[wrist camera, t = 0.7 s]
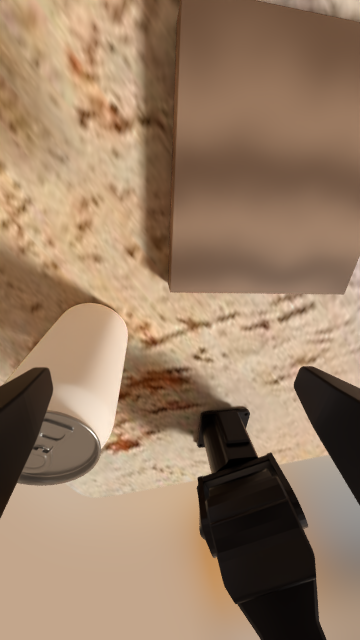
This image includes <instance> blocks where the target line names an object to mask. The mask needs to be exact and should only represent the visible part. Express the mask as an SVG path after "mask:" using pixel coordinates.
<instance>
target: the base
mask: <svg viewBox="0 0 360 640" xmlns="http://www.w3.org/2000/svg"><path fill="white" fill-rule="evenodd" d="M359 256H360V22H356V21H351V20H346V19H341V18H337V17H332V16H327V15H322V14H318V13H313V12H308V11H303V10H299V9H294V8H289V7H284V6H280V5H275V4H270V3H265V2H261V1H256V0H180V5H179V11H178V18H177V29H176V59H175V89H174V119H173V149H172V180H171V210H170V240H169V270H168V285H169V289H170V292H186V293H269V294H344V293H345V291H346V288H347V286H348V283H349V281H350V278H351V276H352V273H353V271H354V268H355V266H356V264H357V261H358V259H359Z"/></svg>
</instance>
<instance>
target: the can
mask: <svg viewBox="0 0 360 640" xmlns="http://www.w3.org/2000/svg"><path fill="white" fill-rule="evenodd" d="M127 341H128V330H127V327H126V324H125V322H124V320H123V319H122V318H121V316H120V315H119V314H118V313H116V312H115V311H114V310H112V309H111V308H109V307H106V306H104V305H101V304H96V303H83V304H78V305H75V306H73V307H71V308H69V309H68V310H67V311H66V312H64V313H63V315H62V316H61V317H60V318H59V319H58V320H57V321H56V322H55V324H54V325H53V326H52V327H51V328H50V329H49V331H48V332H47V333H46V334H45V335H44V337H43V338H42V339H41V340H40V341H39V342H38V344H37V345H36V346H35V347H34V348H33V350H32V351H31V352H30V353H29V354H28V355H27V357H26V358H25V359H24V360H23V361H22V363H21V364H20V365H19V366H18V367H17V369H16V370H15V371H14V372H13V373H12V375H11V376H10V377H9V378H8V379H7V381H6V382H5V383H7V382H9V381H11V380H12V379H14V378H16V377H18V376H20V375H21V374H23V373H25V372H27V371H28V370H30V369H32V368H34V367H47V368H49V370H50V373H51V378H52V383H53V394H52V397H51V400H50V403H49V406H48V409H47V412H46V415H45V418H44V420H43V423H42V426H41V429H40V432H39V435H38V438H37V440H36V442H35V445H34V447H33V449H32V451H31V454H30V456H29V458H28V460H27V462H26V464H25V466H24V469H23V471H22V473H21V475H20V477H19V479H18V481H17V483H20V484H27V485H54V484H61V483H65V482H69V481H72V480H75V479H77V478H79V477H81V476H83V475H85V474H86V473H88V472H89V471H90V470H91V469H92V468H93V467H94V466H95V465H96V463H97V462H98V460H99V458H100V454H101V448H102V447H103V446H104V444H105V443H106V442H107V440H108V438H109V437H110V435H111V432H112V429H113V425H114V420H115V414H116V409H117V403H118V397H119V391H120V385H121V379H122V373H123V367H124V360H125V354H126V348H127ZM5 383H4V384H5ZM4 384H3V385H4Z"/></svg>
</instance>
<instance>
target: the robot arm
mask: <svg viewBox="0 0 360 640" xmlns="http://www.w3.org/2000/svg"><path fill="white" fill-rule="evenodd" d="M294 389H295V391H296V393H297V395H298V397H299V399H300V401H301V404H302V406H303V408H304V410H305V412H306V414H307V416H308V418H309V420H310V422H311V424H312V426H313V428H314V430H315V431H316V433H317V435H318V436H319V438H320V440H321V441H322V443H323V445H324V446H325V448H326V450H327V451H328V453H329V455H330V456H331V458H332V460H333V461H334V463H335V465H336V466H337V468H338V470H339V471H340V473H341V475H342V476H343V478H344V480H345V482H346V483H347V485H348V487H349V488H350V490H351V492H352V493H353V495H354V496H355V498H356V500H357V502H358V503H359V505H360V388H358V387H356V386H353V385H351V384H349V383H347V382H345V381H343V380H341V379H339V378H336V377H334V376H332V375H330V374H328V373H326V372H324V371H321V370H319V369H317V368H315V367H312V366H303V367H301V368H300V369H299V372H298V374H297V377H296V379H295V382H294ZM52 394H53V383H52V378H51V373H50V370H49V368H47V367H34V368H32V369H30V370H28V371H27V372H25V373H23V374H21V375H20V376H18V377H16V378H14V379H12V380H11V381H9V382H7V383H5V384H4V385H2V386H0V518H1V516H2V514H3V511H4V509H5V507H6V505H7V503H8V501H9V498H10V496H11V494H12V492H13V490H14V488H15V486H16V484H17V481H18V479H19V477H20V475H21V473H22V471H23V469H24V466H25V464H26V462H27V460H28V458H29V456H30V454H31V451H32V449H33V447H34V445H35V442H36V440H37V438H38V435H39V432H40V429H41V426H42V423H43V420H44V418H45V415H46V412H47V409H48V406H49V403H50V400H51V397H52ZM249 415H250V412H249V410H247V409H241V410H226V411H210V412H203V413H201V417H200V424H199V431H198V438H197V446H198V447H199V448H201V447H205V448H206V452H207V456H208V460H209V465H210V469H211V473H212V474H209V475H206V476H200V477H198V486H197V492H198V498H199V508H200V526H199V527H200V528H199V529H200V535H201V537H202V538H203V539H205V540H206V542H207V544H208V547H209V549H210V552H211V554H212V556H213V557H214V558H215V557H217V559H218V563H219V567H220V571H221V575H222V579H223V582H224V586H225V588H226V590H227V591H228V593H229V595H230V596H231V598H232V599H233V601H234V602H235V604H238V606H239V607H240V609H241V610H242V612H243V613H244V615H245V616H246V618H247V619H248V621H249V622H250V624H251V625H252V627H253V628H254V630H255V631H256V633H257V634H258V636H259V637H260V639H261V640H326V637H325V635H324V632H323V630H322V627H321V625H320V622H319V616H318V599H317V585H316V569H315V557H314V553H313V550H312V548H311V545H310V544H309V541H308V539H307V537H306V535H305V532H304V530H303V529H304V528H307V527H308V524H307V521H306V518H305V515H304V513H303V511H302V508H301V506H300V504H299V502H298V500H297V498H296V495H295V494H294V492H293V490H292V488H291V486H290V484H289V482H288V481H287V479H286V478H285V476H284V474H283V472H282V470H281V469H280V467H279V465H278V463H277V462H276V460H275V458H274V457H273V455H272V453H268V454H267V455H265V456H262V457H259V458H258V456H257V453H256V451H255V449H254V447H253V444H252V442H251V440H250V438H249V435H248V433H247V431H246V426H247V423H248V419H249Z"/></svg>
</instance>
